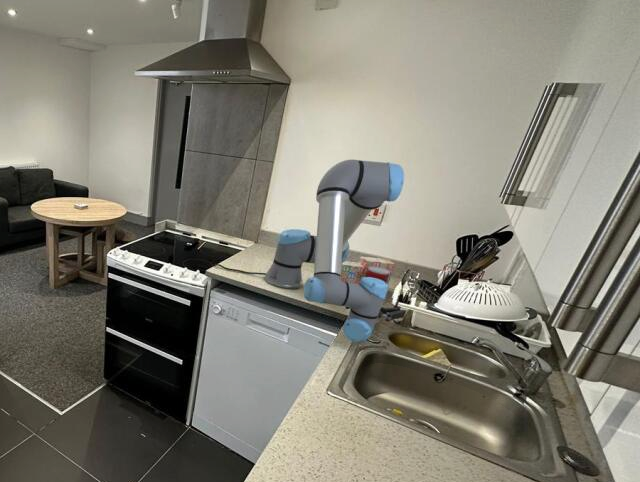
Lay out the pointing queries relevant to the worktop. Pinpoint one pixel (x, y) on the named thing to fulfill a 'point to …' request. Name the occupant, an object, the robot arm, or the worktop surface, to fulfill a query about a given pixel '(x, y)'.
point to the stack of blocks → (363, 268)
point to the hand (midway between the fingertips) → (375, 298)
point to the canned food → (378, 273)
